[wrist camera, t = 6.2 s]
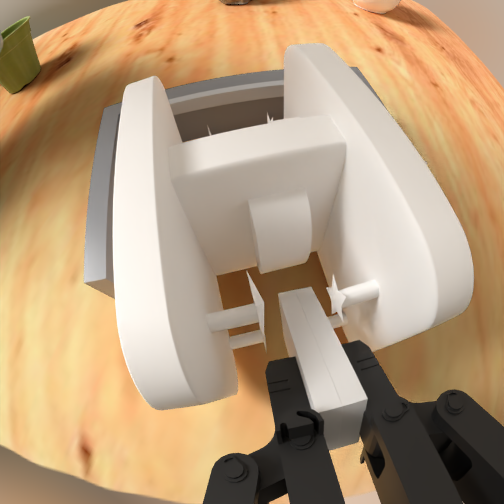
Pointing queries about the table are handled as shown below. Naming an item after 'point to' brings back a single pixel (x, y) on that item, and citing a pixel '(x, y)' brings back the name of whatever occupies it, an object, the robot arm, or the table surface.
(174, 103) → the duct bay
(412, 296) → the cable organizer
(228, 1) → the grey lumpy rounded piece
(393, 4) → the lidded jar
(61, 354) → the table surface
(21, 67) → the plant pot
